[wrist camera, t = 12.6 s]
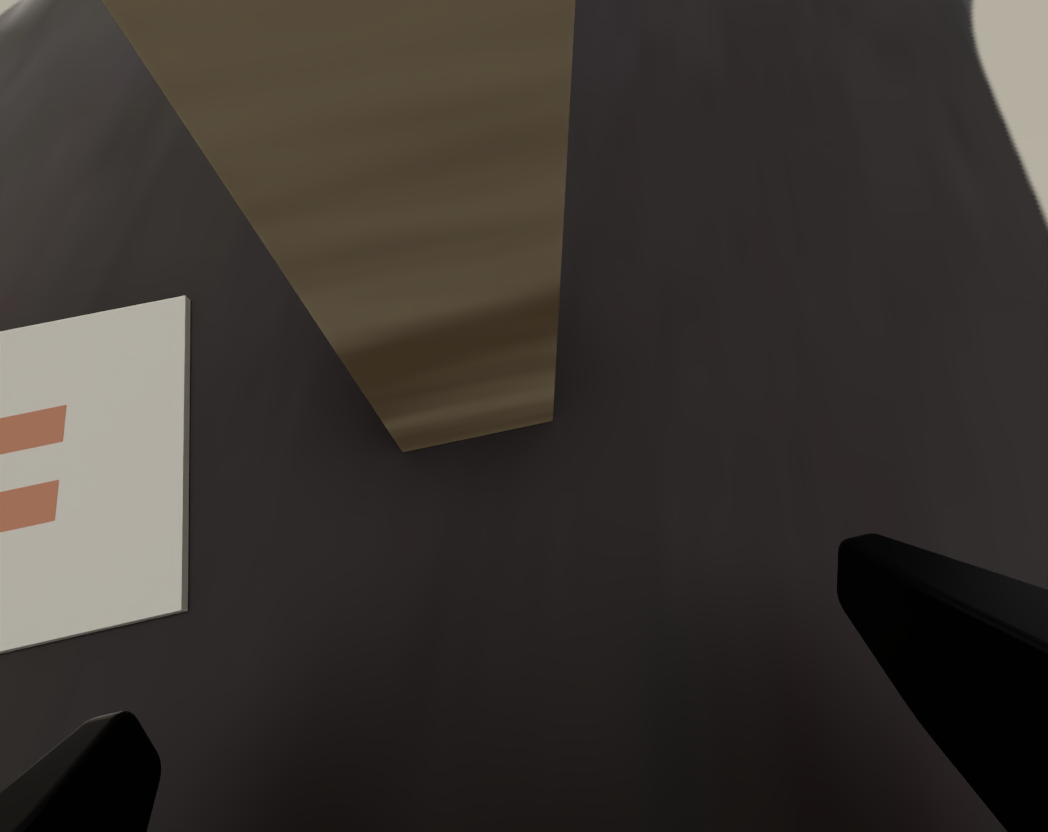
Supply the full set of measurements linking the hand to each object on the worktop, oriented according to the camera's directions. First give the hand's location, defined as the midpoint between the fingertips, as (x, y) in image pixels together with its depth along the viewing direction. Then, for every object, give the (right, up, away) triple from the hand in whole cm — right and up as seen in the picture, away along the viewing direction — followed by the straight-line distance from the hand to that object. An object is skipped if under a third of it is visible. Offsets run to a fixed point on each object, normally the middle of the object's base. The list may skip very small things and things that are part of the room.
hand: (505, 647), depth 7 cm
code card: (-15, +1, +10) cm, 17 cm away
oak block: (-2, +4, +11) cm, 12 cm away
